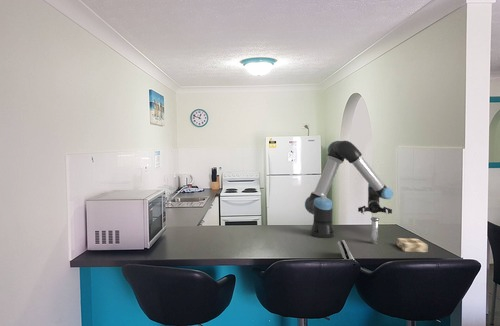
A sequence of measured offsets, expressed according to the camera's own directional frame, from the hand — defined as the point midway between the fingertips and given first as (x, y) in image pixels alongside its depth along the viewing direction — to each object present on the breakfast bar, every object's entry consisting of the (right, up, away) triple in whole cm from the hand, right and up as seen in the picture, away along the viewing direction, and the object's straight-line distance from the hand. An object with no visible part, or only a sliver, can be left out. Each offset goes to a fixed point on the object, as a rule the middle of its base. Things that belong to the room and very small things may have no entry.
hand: (375, 212), depth 200 cm
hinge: (-29, -18, -36) cm, 49 cm away
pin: (-4, -17, -8) cm, 19 cm away
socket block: (+14, -17, -18) cm, 28 cm away
